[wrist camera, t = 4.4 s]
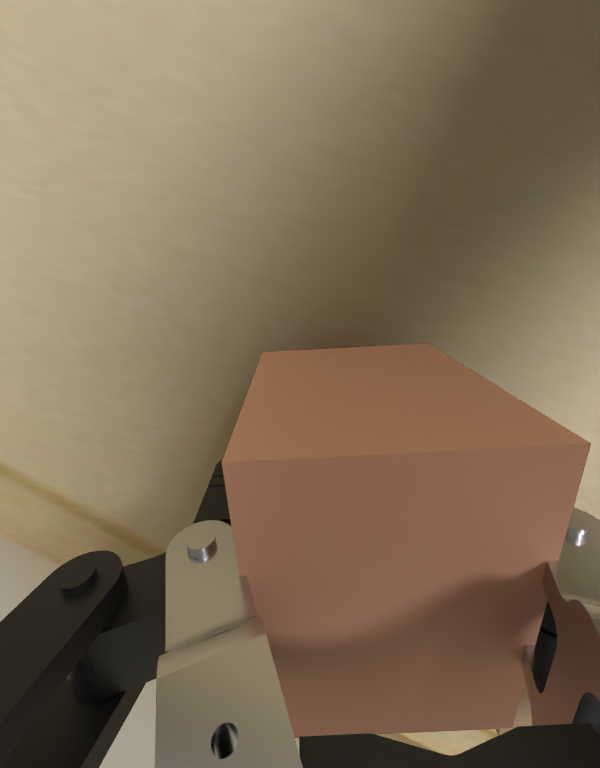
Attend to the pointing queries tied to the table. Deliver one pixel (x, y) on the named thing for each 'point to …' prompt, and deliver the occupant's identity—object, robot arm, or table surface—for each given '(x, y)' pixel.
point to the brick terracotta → (396, 535)
